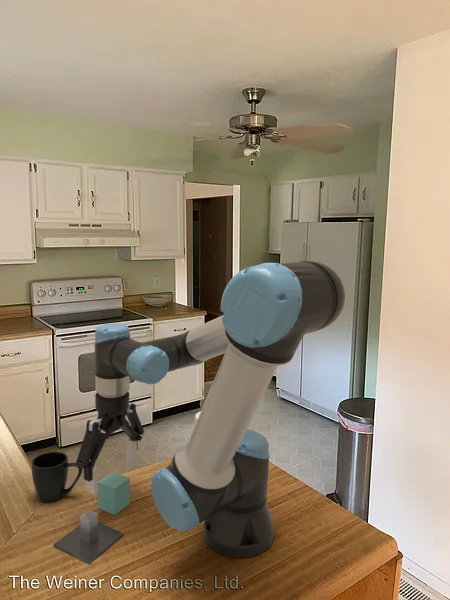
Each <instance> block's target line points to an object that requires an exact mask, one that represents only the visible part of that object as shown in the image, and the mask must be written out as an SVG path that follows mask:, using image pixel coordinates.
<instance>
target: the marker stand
mask: <svg viewBox="0 0 450 600" xmlns="http://www.w3.org/2000/svg"><path fill="white" fill-rule="evenodd" d="M124 534H125V533H124V532H121V531H119V530H117V529H115V528H112V527H110V526H108V525H106V524H102V523H101V522H99V513H97V512H96V511H93V510H90V509H87V510H86V511H85V512H84V513H82V514H81V515H80V514H79V525H78V526H77V527H74V529H72V530H71V531H70V532H68V533H67V534H65V535H64V536H63V537H62V538H60V539H59V540H57V541H56V542H54V543H53V547H54V548H56V549H58V550H60V551H62V552H64V553H65V554H68V555H70V556H72V557H74V558H77V559H78V560H80V561H82V562H84V563H86V564H89V565H90V564H92V563H93V562H94V561H95V560H97V558H99V557H100V556H101V555H102V554H104V552H106V551H108V549H109V548H111V546H113V545H114V544H115V543H116V542H118V541H119V540H120V539H121V538H122V537H124V536H125V535H124Z"/></svg>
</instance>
